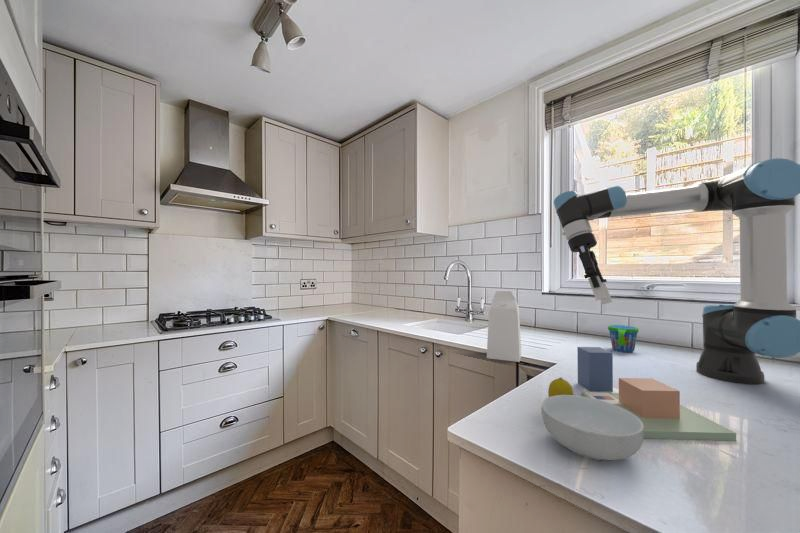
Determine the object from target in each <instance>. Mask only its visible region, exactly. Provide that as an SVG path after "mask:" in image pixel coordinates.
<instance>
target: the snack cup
mask: <svg viewBox="0 0 800 533" xmlns="http://www.w3.org/2000/svg"><path fill="white" fill-rule="evenodd" d="M607 329H608V331H609V337H610V341H611V342H610V343H611V347H612V350H614V351H616V350H617V352H620V351H621V353H634V351H635V350H636V349H635V348H636V342H637V337H638V333H639V328H638V327H637V326H631V325H621V324H609V325H607Z"/></svg>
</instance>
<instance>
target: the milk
mask: <svg viewBox="0 0 800 533" xmlns="http://www.w3.org/2000/svg"><path fill="white" fill-rule="evenodd" d="M491 301H492V302H491V303H490V306H489V310H488V320H487V321H488V324H487V326H488V328H487V346H486V347H487V348H486V359H490V360H491V359H492V360H499V361H507V362H517V363H520V362H521V357H522V343H521V320H520V307H519V304H518V302H517V299H516V296H515V295H514V292H513V290H496V291H495V293H494V295H493V298H492V300H491Z"/></svg>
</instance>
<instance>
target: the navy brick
mask: <svg viewBox="0 0 800 533" xmlns="http://www.w3.org/2000/svg"><path fill="white" fill-rule="evenodd" d="M613 354H614V353H613V352H612V351H610V350H607V349H605V348H602V347H600V346H577V384H578V385H580V386H581V387H582V388H584V389H585V390H587V392H598V393H614V391H613V390H614V383H613V382H614V378H613V376H614V374H613V370H614V369H613V368H614V367H613V366H614V365H613V360H614V359H613Z"/></svg>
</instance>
